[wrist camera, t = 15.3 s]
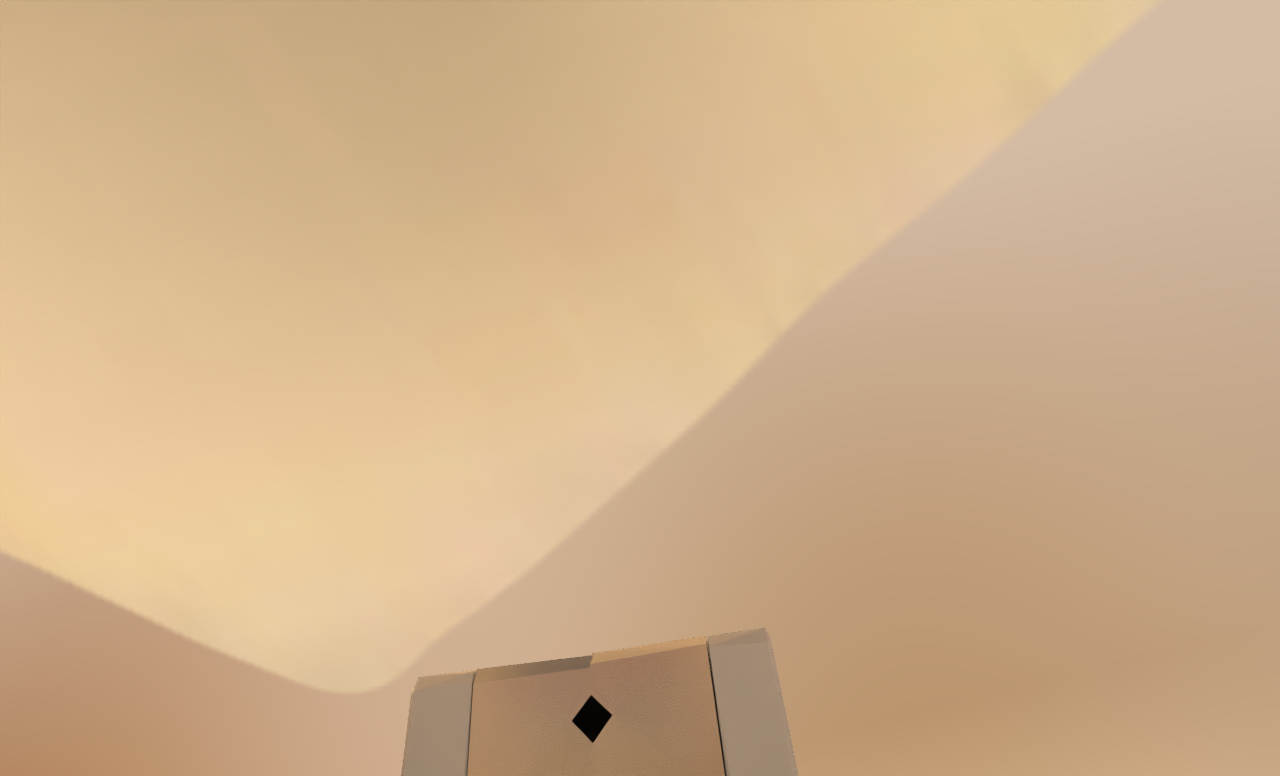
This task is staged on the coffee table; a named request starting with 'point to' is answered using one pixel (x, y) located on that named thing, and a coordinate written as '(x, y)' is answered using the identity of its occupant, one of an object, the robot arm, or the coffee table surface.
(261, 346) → the coffee table surface
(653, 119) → the coffee table surface
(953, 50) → the coffee table surface
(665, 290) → the coffee table surface
